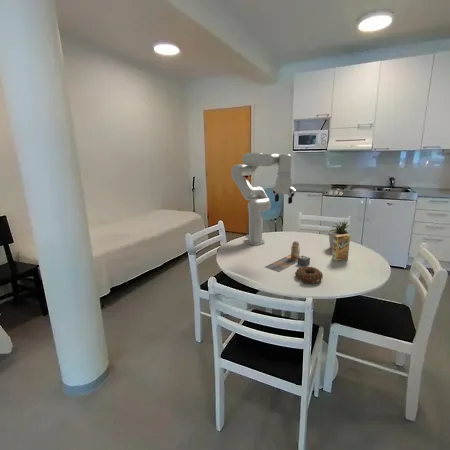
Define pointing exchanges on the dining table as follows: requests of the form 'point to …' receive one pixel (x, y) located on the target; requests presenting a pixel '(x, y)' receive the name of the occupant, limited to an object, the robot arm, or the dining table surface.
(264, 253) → the dining table surface
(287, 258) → the board
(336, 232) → the potted plant
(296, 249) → the pawn
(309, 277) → the donut
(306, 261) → the die
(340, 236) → the candy box
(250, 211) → the robot arm
